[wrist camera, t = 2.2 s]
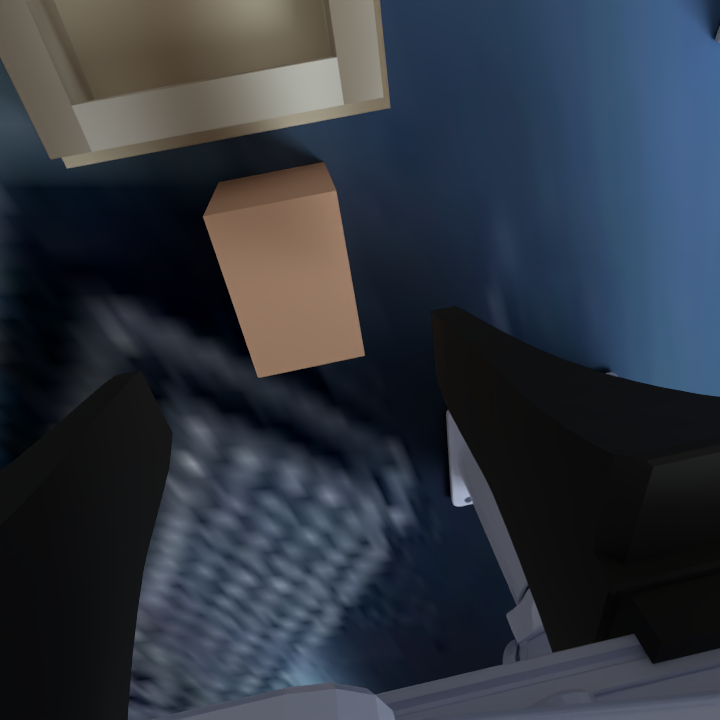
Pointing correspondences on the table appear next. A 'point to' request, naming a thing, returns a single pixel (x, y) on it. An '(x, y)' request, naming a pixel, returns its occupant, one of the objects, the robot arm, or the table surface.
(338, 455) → the table surface
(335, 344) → the keyed block
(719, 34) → the skincare box
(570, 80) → the table surface
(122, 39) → the stand
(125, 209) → the table surface
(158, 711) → the table surface
